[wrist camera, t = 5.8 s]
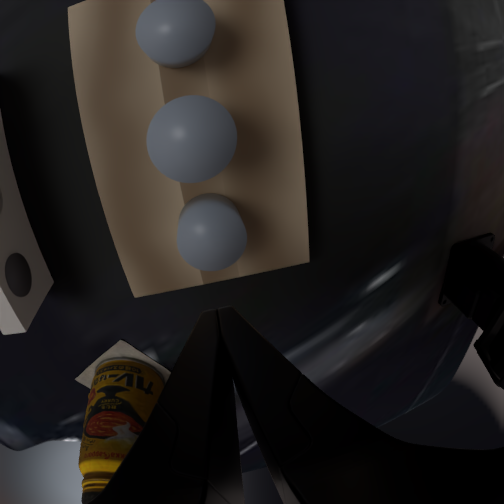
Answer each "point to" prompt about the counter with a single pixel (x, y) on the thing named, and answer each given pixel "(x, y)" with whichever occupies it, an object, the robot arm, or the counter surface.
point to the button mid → (191, 139)
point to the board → (183, 84)
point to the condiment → (115, 411)
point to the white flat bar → (18, 255)
